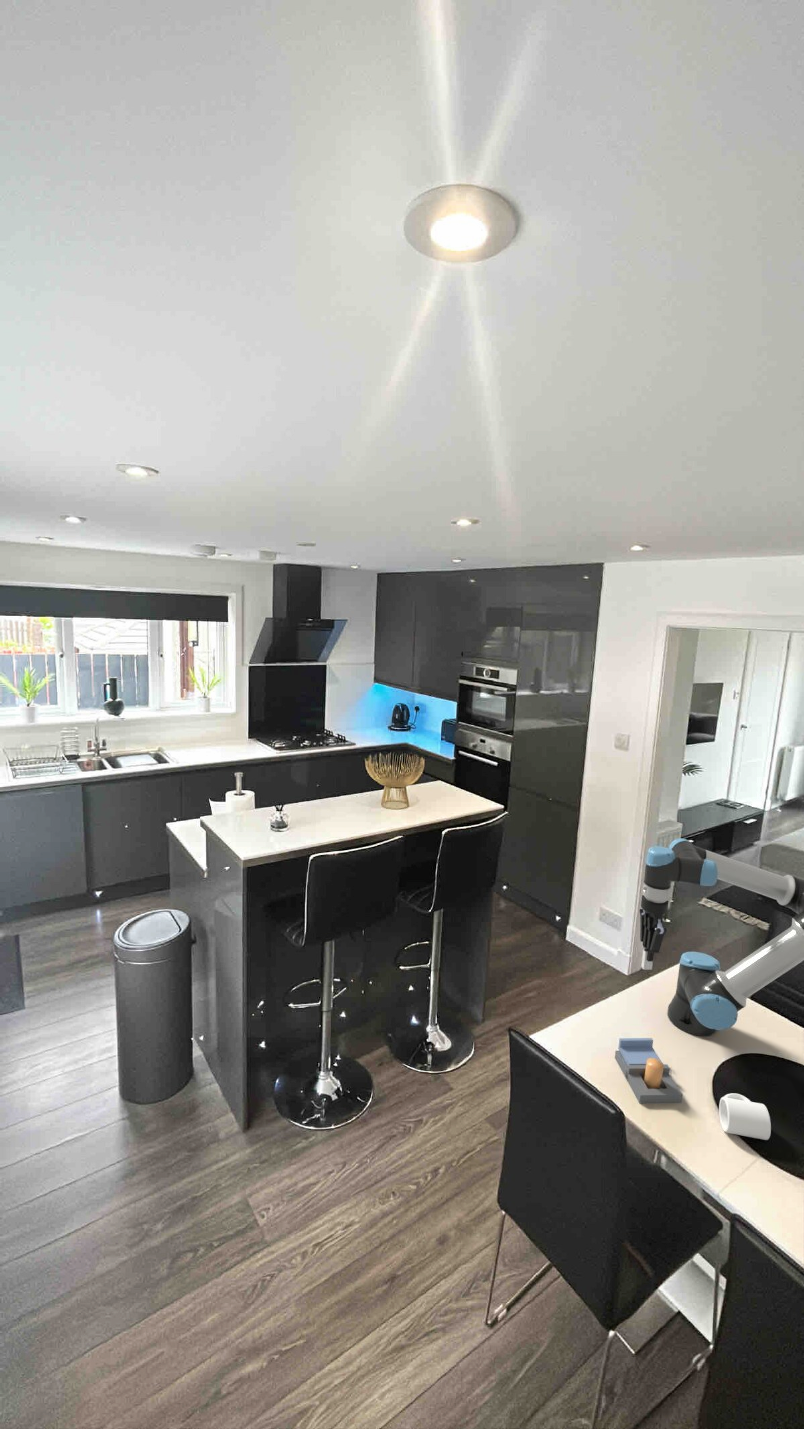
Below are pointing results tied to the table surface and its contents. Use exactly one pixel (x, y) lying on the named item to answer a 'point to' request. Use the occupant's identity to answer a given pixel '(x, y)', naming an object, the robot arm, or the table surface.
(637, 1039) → the lid
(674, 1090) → the housing
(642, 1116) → the table surface
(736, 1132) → the mug
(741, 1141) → the table surface
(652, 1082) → the pin
